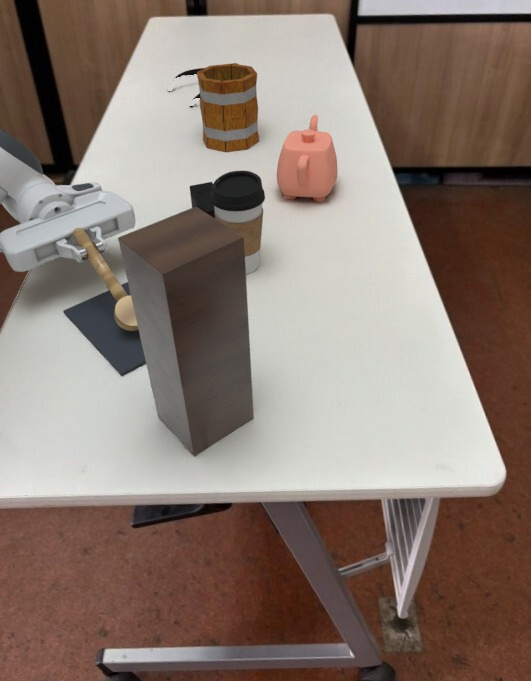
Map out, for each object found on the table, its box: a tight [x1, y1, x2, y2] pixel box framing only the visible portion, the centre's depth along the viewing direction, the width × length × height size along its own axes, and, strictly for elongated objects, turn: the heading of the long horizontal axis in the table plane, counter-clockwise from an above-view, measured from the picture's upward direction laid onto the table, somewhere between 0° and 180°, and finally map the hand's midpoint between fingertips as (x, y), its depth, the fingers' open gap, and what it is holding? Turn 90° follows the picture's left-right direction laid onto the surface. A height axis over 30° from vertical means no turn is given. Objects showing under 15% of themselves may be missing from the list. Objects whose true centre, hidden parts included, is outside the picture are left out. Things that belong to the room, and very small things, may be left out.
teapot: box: [276, 114, 339, 202], centre depth 112 cm, size 20×12×12 cm, turn 170°
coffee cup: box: [211, 170, 266, 275], centre depth 91 cm, size 8×8×15 cm
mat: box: [62, 281, 146, 377], centre depth 85 cm, size 18×12×1 cm, turn 40°
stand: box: [117, 207, 255, 457], centre depth 63 cm, size 8×9×26 cm
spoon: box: [73, 228, 139, 331], centre depth 82 cm, size 18×5×2 cm, turn 40°
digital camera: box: [189, 181, 215, 218], centre depth 102 cm, size 10×5×7 cm, turn 21°
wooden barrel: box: [196, 62, 260, 153], centre depth 132 cm, size 20×14×15 cm
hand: (93, 252), depth 83 cm, fingers closed on spoon, 2 cm apart
